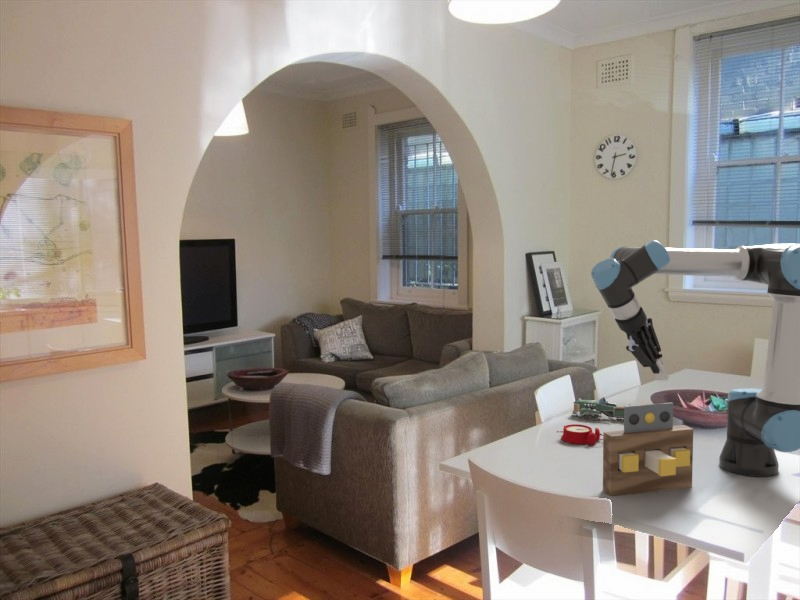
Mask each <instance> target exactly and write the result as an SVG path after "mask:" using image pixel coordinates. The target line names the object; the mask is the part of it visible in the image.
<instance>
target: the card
mask: <svg viewBox="0 0 800 600" xmlns="http://www.w3.org/2000/svg"><path fill="white" fill-rule="evenodd" d="M623 407H624V418H623V419H624V420H623V421H624V422H623V430H624V433H631V432H642V431H653V430H664V429H673V426H674V402H662V403H661V402H660V403H649V404H636V405H630V406H629V405H625V406H623Z"/></svg>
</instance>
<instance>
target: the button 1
mask: <svg viewBox="0 0 800 600" xmlns="http://www.w3.org/2000/svg"><path fill="white" fill-rule="evenodd" d="M638 466H639V455H637V454H634V453H633V452H631V451H630V452H620V453H618V469H620V470H621V471H622V472H634V471H638Z"/></svg>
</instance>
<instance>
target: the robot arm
mask: <svg viewBox="0 0 800 600" xmlns="http://www.w3.org/2000/svg"><path fill="white" fill-rule="evenodd" d="M590 275H591V278H592V280H593V282H594V285H595V287H596V289H597V290H598V291H599V293H600V295H601V297H602V299H603V300H604V302H605V304H606V305H607V307H608V309H609V310H610V313H611V315H612V316H613V318H614V321H615V323H616V324H617V326H618V328H619V330H621V331H622V332H624V333H625V334H626V337H627V340H628V341H629V344H628V345H626V348H625V349H626V351H627V352H629V353H631V354H632V355H633V357H634V358H635V359H636V360H637V361H638V362H639V363H640V365H641V366H642V367H643V368H650V370H651V371H652V374H654V376H655V378H656V379H657V381H668V380H669V377H670V376H669V374H668V372H667V370H666V368H665V366H664V365H663V362H662V360H661V358H663V354H662V353H661V351H662V348H661V345H660V342H659V340H658V336H657V334H656V331H655V328H654V323H653V319H652V318H651V317H650V318H649V317H647V314H646V313H645V310H644V309H643V307H642V306H641V303H640V301H639V299H638V298H637V295H636V294H635V292H634V290H633V287H635V286H638V285H639V284H640V283H641V282H643V281H644V280H646V279H647V278H649V277H651V276H653V275H657V276H658V275H659V276H660V275H663V276H665V275H666V276H695V277H697V276H699V277H727V278H728V277H729V278H730V277H733V279H735V280H736V281H742V282H743V281H746V282H752V283H758V284H763V285H767V292H766V293H767V295H768V296H769V297H770V298H771V300H772V306H771V316H770V325H769V333H768V343H767V350H766V351H767V353H766V361H765V362H766V363H765V370H764V377H763V379H764V380H763V388H751V387H750V388H746V387H745V388H732V389H731V390H730V391H728V394H727V400H726V403H727V409H726V410H727V411H726V412H727V415H726V419H727V421H726V440H725V442H724V445H723V448H722V450H721V453H720V454H719V461H718V462H719V463H718V464H719V467H721V468H722V469H724V470H725V471H727V472H731V473H733V474H737V475H741V476H748V477H759V478H760V477H761V478H762V477H771V476H775V475H778V473H779V461H778V458H777V455H776V452H775V450H776V451H777V452H782V453H793V452H795V451H798V450H800V243H769V244H768V243H767V244H761V245H747V246H745V245H739V246H737V247H736V248H734V249H727V248H724V249H723V248H720V249H719V248H686V247H685V248H684V247H683V248H681V247H679V248H677V247H665V246H664V245H663V244H662V243H661V242H659V241H658V240H655V239H654V240H650V241H649V242H647V243H644V244H643V245H642V246H641V247H639V246H638V247H637V246H619V247H617V248H615V249H614V250H613V251H612V252H611V254H610V257H609V258H606V259H603V260H602V261H601V260H600V261H599V262H598V263H596V264H595V265H594V266H593V267H592V269H591V271H590Z"/></svg>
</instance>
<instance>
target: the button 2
mask: <svg viewBox="0 0 800 600" xmlns="http://www.w3.org/2000/svg"><path fill="white" fill-rule="evenodd" d="M669 456H671V457H674V458H676V467H682V466H690V450H689V449H686V448H684V447H672V448H670V451H669Z"/></svg>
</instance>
